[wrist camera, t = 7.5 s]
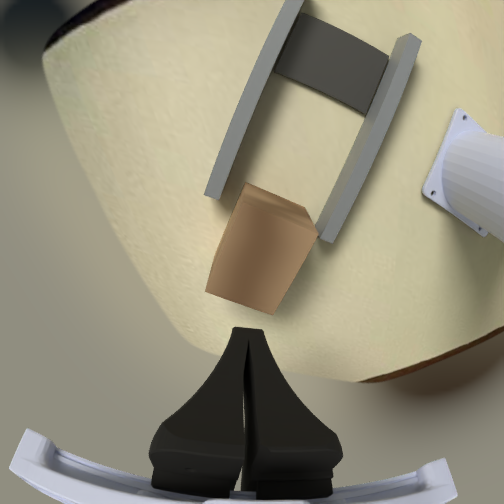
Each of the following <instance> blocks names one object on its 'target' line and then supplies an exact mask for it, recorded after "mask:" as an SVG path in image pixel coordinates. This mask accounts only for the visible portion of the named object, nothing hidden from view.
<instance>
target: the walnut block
mask: <svg viewBox="0 0 504 504" xmlns="http://www.w3.org/2000/svg"><path fill="white" fill-rule="evenodd" d="M318 235H319V234H318V232H317V230H316V228H315V226H314V224H313V222H312V220H311V218H310V216H309V215H308V213H307V211H306V209H305V207H303V206H300V205H298V204H296V203H293V202H291V201H289V200H287V199H284V198H282V197H280V196H277V195H275V194H273V193H270V192H268V191H266V190H263V189H261V188H258V187H256V186H253V185H251V184H249V183H246V182H245V184H244V186H243V189H242V191H241V193H240V196H239V198H238V200H237V203H236V205H235V207H234V210H233V212H232V215H231V217H230V219H229V222H228V224H227V227H226V229H225V231H224V234H223V236H222V239H221V241H220V243H219V246H218V248H217V251H216V253H215V256H214V260H213V263H212V267H211V271H210V274H209V278H208V282H207V286H206V290H205V292H207V293H210V294H213V295H216V296H218V297H221V298H224V299H227V300H230V301H233V302H235V303H238V304H241V305H244V306H247V307H250V308H253V309H256V310H259V311H262V312H265V313H268V314H271V315H273V314H274V312H275V311H276V309H277V307H278V306H279V304H280V302H281V300H282V299H283V297H284V295H285V294H286V292H287V290H288V288H289V287H290V285H291V283H292V281H293V280H294V278H295V276H296V274H297V273H298V271H299V269H300V267H301V265H302V264H303V262H304V260H305V258H306V257H307V255H308V253H309V251H310V249H311V247H312V246H313V244H314V242H315V240H316V238H317V236H318Z"/></svg>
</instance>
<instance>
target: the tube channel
mask: <svg viewBox="0 0 504 504" xmlns="http://www.w3.org/2000/svg"><path fill="white" fill-rule="evenodd" d="M303 2H304V0H285V2H284V4H283V6H282V8H281V10H280V12H279V14H278V16H277V18H276V20H275V22H274V24H273V26H272V29H271V31H270V33H269V35H268V37H267V39H266V41H265V43H264V46H263V48H262V50H261V52H260V54H259V56H258V59H257V61H256V63H255V65H254V68H253V70H252V72H251V75H250V77H249V79H248V81H247V84H246V86H245V88H244V91H243V93H242V96H241V98H240V100H239V103H238V105H237V108H236V110H235V113H234V115H233V118H232V120H231V123H230V125H229V128H228V130H227V133H226V135H225V138H224V141H223V143H222V146H221V149H220V151H219V154H218V157H217V159H216V162H215V165H214V167H213V170H212V173H211V176H210V179H209V181H208V184H207V187H206V190H205V193H204V195H205V196H208V197H211V198H214V199H217V200H219V199H220V196H221V194H222V192H223V189H224V186H225V184H226V181H227V178H228V176H229V173H230V170H231V168H232V165H233V163H234V160H235V157H236V155H237V152H238V150H239V147H240V145H241V142H242V140H243V137H244V135H245V132H246V130H247V127H248V125H249V122H250V120H251V118H252V115H253V113H254V110H255V108H256V106H257V103H258V101H259V98H260V96H261V94H262V91H263V89H264V87H265V84H266V82H267V80H268V78H269V75H270V73H271V71H272V68H273V66H274V64H275V62H276V60H277V57H278V55H279V53H280V51H281V48H282V46H283V44H284V42H285V40H286V38H287V36H288V33H289V31H290V29H291V27H292V25H293V23H294V21H295V19H296V17H297V15H298V13H299V10H300V8H301V6H302V4H303ZM421 42H422V41H421V40H420V39H418V38H417V37H416V36H414V35H413V34H411V33H408V34H406V35H404V36H402V37H399V38H397V41H396V44H395V46H394V49H393V51H392V54H391V57H390V59H389V62H388V64H387V67H386V69H385V72H384V74H383V77H382V79H381V82H380V84H379V86H378V89H377V91H376V94H375V96H374V98H373V101H372V103H371V106H370V108H369V110H368V113H367V115H366V117H365V120H364V122H363V124H362V126H361V129H360V131H359V133H358V136H357V138H356V140H355V142H354V145H353V147H352V149H351V151H350V153H349V156H348V158H347V160H346V162H345V164H344V167H343V169H342V171H341V173H340V175H339V177H338V179H337V182H336V184H335V186H334V188H333V190H332V192H331V194H330V196H329V198H328V201H327V203H326V205H325V207H324V209H323V211H322V213H321V215H320V217H319V219H318V221H317V223H316V225H315V228H316V230H317V232H318V234H319V235H318V236H319V238H320V239H322V240H324V241H327V242H329V243H332V244H333V242H334V240H335V238H336V236H337V235H338V233H339V231H340V229H341V227H342V225H343V223H344V221H345V219H346V217H347V215H348V213H349V211H350V209H351V207H352V205H353V203H354V201H355V199H356V197H357V195H358V193H359V191H360V189H361V187H362V185H363V183H364V181H365V178H366V176H367V174H368V172H369V170H370V168H371V166H372V163H373V161H374V159H375V157H376V155H377V153H378V150H379V148H380V146H381V144H382V141H383V139H384V137H385V135H386V132H387V130H388V128H389V125H390V123H391V121H392V118H393V116H394V113H395V111H396V109H397V106H398V104H399V101H400V99H401V96H402V94H403V91H404V89H405V86H406V83H407V81H408V78H409V76H410V73H411V70H412V68H413V65H414V62H415V59H416V57H417V54H418V51H419V48H420V45H421ZM388 58H389V56H388V55H386V54H385V53H383V52H381V51H380V50H378V49H376V48H375V47H373V46H371V45H369V44H368V43H366V42H364V41H362V40H360V39H358V38H357V37H355V36H353V35H351V34H349V33H347V32H345V31H343V30H341V29H339V28H337V27H335V26H332V25H330V24H328V23H326V22H324V21H321V20H319V19H317V18H314V17H312V16H310V15H307V14H305V13H301V15H300V17H299V19H298V21H297V24H296V26H295V28H294V30H293V32H292V34H291V36H290V38H289V41H288V43H287V45H286V47H285V49H284V51H283V54H282V56H281V58H280V60H279V63H278V65H277V67H276V69H275V73H278V74H280V75H283V76H285V77H288V78H290V79H293V80H295V81H298V82H300V83H302V84H305V85H307V86H309V87H311V88H314V89H316V90H318V91H320V92H322V93H324V94H326V95H328V96H331V97H333V98H335V99H337V100H339V101H341V102H343V103H345V104H347V105H348V106H350V107H352V108H354V109H356V110H358V111H360V112H361V113H363V114H366V112H367V109H368V107H369V104H370V102H371V100H372V97H373V95H374V93H375V90H376V88H377V85H378V83H379V80H380V78H381V76H382V73H383V71H384V68H385V66H386V63H387V61H388Z"/></svg>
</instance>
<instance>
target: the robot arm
mask: <svg viewBox="0 0 504 504" xmlns="http://www.w3.org/2000/svg"><path fill="white" fill-rule="evenodd" d="M463 116H464V120H463ZM432 191H433V195H431V192H432ZM422 193H423V194H424V195H425V196H426V197H428V198H429V199H431V200H432V201H434V202H435V203H437V204H438V205H440V206H441V207H443V208H444V209H446V210H447V211H448V212H450V213H451V214H453V215H454V216H456V217H457V218H458V219H460V220H461V221H462V222H464V223H465V224H467V225H468V226H469V227H471V228H472V229H473V230H474V231H476V232H477V233H478V234H480V235H481V236H482V237H486V236H487V234H488V233H491V234H492V235H494V236H495V237H497V238H498V239H499V240H501V241H502V242H504V137H502V136H498V135H493V134H489V133H487V132H486V131H485V130H484V129H483V128H482V127H481V126H480V125H479V124H478V123H476V122H475V121H474V120H473V119H472V118H471V117H470V116H469V115H468V114H467V113H466V112H465V111H464V110H462V109H461V108H456V109H455V111H454V113H453V116H452V119H451V121H450V124H449V127H448V129H447V132H446V134H445V137H444V139H443V142H442V144H441V147H440V149H439V152H438V154H437V156H436V159H435V161H434V163H433V165H432V168H431V170H430V172H429V174H428V177H427V179H426V181H425V183H424V185H423V187H422ZM479 226H480V227H479ZM478 228H479V229H478ZM243 396H244V413H245V428H244V422H243V421H244V420H243ZM342 457H343V452H342V447H341V444H340V442H339V439H338V437H337V435H336V434H335V433H334V432H333V431H332V430H331V429H329V428H328V427H327V426H325V425H324V424H323V423H322V422H321V421H320V420H319V419H318V418H317V417H316V416H315V415H313V413H312V412H311V411H310V410H309V409H308V408H307V407H306V406H305V405H304V404H303V403H302V401H301V400H300V399H299V398H298V397H297V395H296V394H295V393H294V391H293V390H292V389H291V387H290V386H289V384H288V383H287V381H286V380H285V378H284V376H283V375H282V373H281V371H280V369H279V368H278V366H277V364H276V362H275V360H274V358H273V356H272V353H271V351H270V349H269V346H268V344H267V341H266V338H265V335H264V331H263V330H262V329H252V328H242V327H234V328H233V329H232V334H231V337H230V340H229V342H228V345H227V347H226V349H225V351H224V353H223V355H222V357H221V359H220V360H219V362H218V364H217V365H216V367H215V369H214V370H213V372H212V373H211V374H210V376H209V377H208V379H207V380H206V381H205V382H204V384H203V385H202V386H201V387H200V388H199V390H198V391H197V392H196V393H195V394H194V395H193V396H192V398H190V399H189V400H188V401H187V402H186V403H185V404H184V405H183V406H182V407H181V408H180V409H179V410H178V411H176V412H175V413H174V414H173V415H171V416H170V417H169V418H168V419H166V420H165V421H164V422H162V424H161V425H160V427H159V429H158V430H157V432H156V434H155V435H154V437H153V440H152V442H151V446H150V450H149V458H150V460H151V463H152V465H153V467H154V471H153V475H152V479H150V478H146V477H142V476H138V475H134V474H131V473H127V472H123V471H120V470H117V469H113V468H110V467H107V466H104V465H101V464H98V463H95V462H92V461H90V460H87V459H84V458H82V457H79V456H76V455H74V454H71V453H69V452H67V451H64V450H62V449H60V448H57V447H56V445H55V444H54V443H53V442H52V441H51V440H50V439H48V438H47V437H45V436H43V435H41V434H39V433H37V432H35V431H33V430H31V429H29V428H27V429H26V431H25V433H24V435H23V437H22V439H21V441H20V444H19V446H18V448H17V450H16V453H15V455H14V457H13V459H12V462H11V464H10V467H9V469H10V470H11V471H12V472H13V473H15V474H16V475H17V476H19V477H20V478H21V479H23V480H24V481H25V482H27V483H28V484H29V485H31V486H32V487H34V488H35V489H37V490H39V491H41V492H42V493H44V494H46V495H48V496H50V497H52V498H54V499H56V500H58V501H60V502H62V503H64V504H445V503H447V502H449V501H451V500H452V499H454V498H456V497H457V491H456V488H455V485H454V482H453V479H452V476H451V473H450V470H449V467H448V465H447V462H446V459H445V458H441V459H439V460H435V461H432V462H429V463H427V464H425V465H423V466H421V467H420V468H419V469H418V470H417V471H415V472H412V473H408V474H405V475H401V476H397V477H393V478H388V479H384V480H380V481H375V482H370V483H364V484H359V485H353V486H346V487H339V488H332V481H331V478H333V471H332V469H333V468H334V467H335V466H336V465H337V464H338V463H339V462H340V461H341V459H342ZM241 468H242V479H241V491H234V488H235V485H236V481H237V480H238V478H239V474H240V471H241Z"/></svg>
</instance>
